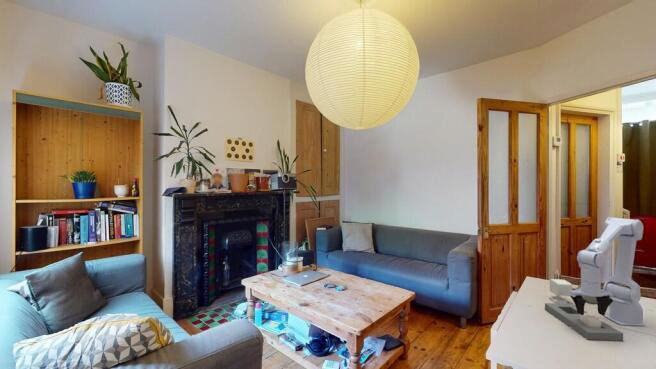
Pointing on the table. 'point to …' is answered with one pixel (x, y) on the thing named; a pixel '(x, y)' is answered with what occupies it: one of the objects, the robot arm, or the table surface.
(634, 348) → the table surface
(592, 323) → the plug
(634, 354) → the table surface
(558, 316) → the socket board
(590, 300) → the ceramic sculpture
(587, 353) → the table surface
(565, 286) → the security camera
